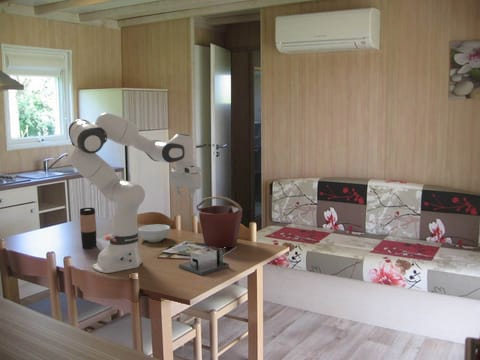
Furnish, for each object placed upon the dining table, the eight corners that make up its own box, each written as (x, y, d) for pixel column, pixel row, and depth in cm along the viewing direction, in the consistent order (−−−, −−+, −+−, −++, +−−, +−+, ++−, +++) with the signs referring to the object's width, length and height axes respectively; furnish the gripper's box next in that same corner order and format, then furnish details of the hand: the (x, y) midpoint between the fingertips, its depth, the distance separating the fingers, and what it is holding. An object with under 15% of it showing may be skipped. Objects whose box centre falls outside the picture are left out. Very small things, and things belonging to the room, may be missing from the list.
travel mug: (78, 247, 278) (76, 209, 275) (89, 244, 285) (87, 207, 282) (89, 249, 275) (87, 211, 272) (100, 245, 281) (98, 208, 278)
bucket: (188, 245, 279) (187, 198, 275) (214, 236, 297) (213, 191, 294) (227, 253, 266) (226, 203, 262) (251, 242, 284) (251, 196, 280)
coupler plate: (201, 275, 233) (201, 258, 232) (179, 267, 244) (178, 251, 243) (228, 267, 244) (228, 251, 243) (205, 259, 255) (205, 244, 254)
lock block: (200, 268, 238) (199, 254, 237) (190, 265, 243) (190, 251, 242) (216, 263, 245) (216, 249, 244) (207, 260, 250) (207, 247, 249)
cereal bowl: (173, 236, 299) (172, 224, 297) (166, 244, 282) (165, 231, 281) (143, 236, 300) (142, 223, 299) (134, 244, 284) (134, 231, 283)
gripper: (165, 166, 262) (166, 194, 264) (192, 170, 248) (193, 199, 250) (176, 165, 267) (177, 192, 269) (203, 168, 252) (203, 197, 254)
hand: (185, 196), depth 259 cm, fingers open, 8 cm apart
